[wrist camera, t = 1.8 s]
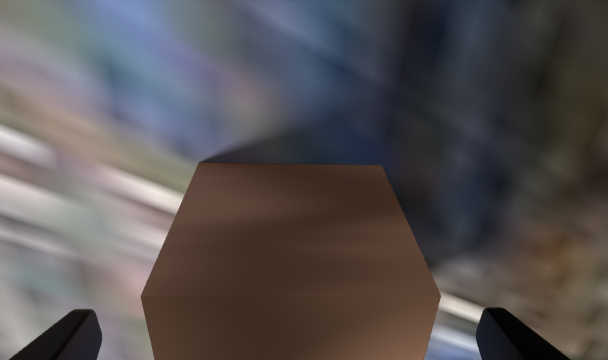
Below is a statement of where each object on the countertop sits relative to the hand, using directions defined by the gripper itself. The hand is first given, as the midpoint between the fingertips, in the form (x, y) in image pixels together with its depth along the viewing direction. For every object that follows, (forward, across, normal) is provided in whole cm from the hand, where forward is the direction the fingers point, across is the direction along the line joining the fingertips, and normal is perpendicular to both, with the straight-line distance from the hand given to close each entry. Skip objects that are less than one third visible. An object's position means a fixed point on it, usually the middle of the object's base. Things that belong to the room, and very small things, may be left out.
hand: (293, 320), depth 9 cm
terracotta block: (+3, 0, 0) cm, 3 cm away
